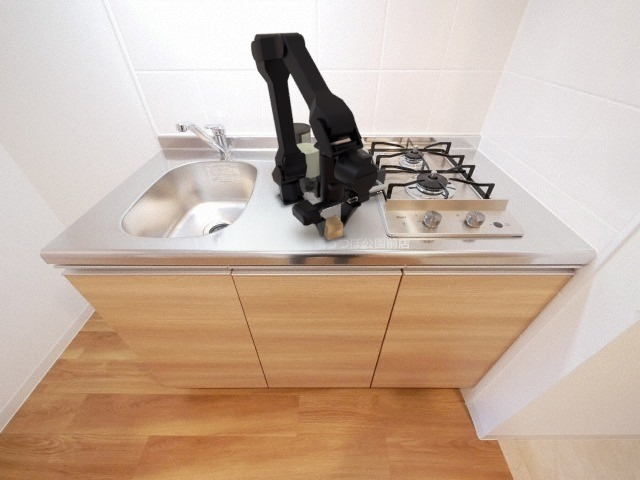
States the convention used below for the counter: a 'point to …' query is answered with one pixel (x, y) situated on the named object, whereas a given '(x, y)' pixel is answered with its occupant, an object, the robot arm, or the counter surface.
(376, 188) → the dark grey drawer
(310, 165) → the can
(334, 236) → the block
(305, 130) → the coffee can
